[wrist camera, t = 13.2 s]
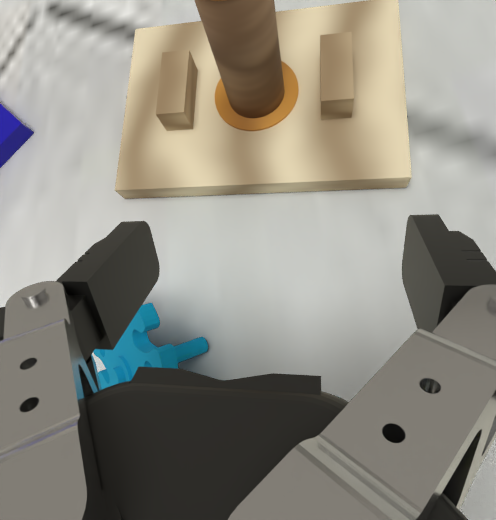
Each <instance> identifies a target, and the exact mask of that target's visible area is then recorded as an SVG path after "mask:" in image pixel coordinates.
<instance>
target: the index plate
mask: <svg viewBox="0 0 496 520" xmlns="http://www.w3.org/2000/svg"><path fill="white" fill-rule="evenodd" d="M275 13H276V21H277V30H278V38H279V47H280V55H281V63H282V72H283V80H284V90H285V92H284V98H283V100H282V102H281V104H280V105H279V107H278V108H277V109H276V110H274V111H273V112H272V113H270V114H268V115H267V116H264V117H260V118H246V117H243V116H241V115H239V114H237V113H236V112H235V111H234V110H233V109H232V107H231V105H230V103H229V100H228V97H227V94H226V91H225V88H224V85H223V82H222V79H221V76H220V73H219V70H218V67H217V65H216V62H215V59H214V56H213V53H212V50H211V47H210V44H209V41H208V38H207V35H206V32H205V29H204V26H203V23H202V21H198V22H190V23H182V24H174V25H166V26H157V27H149V28H141V29H136V31H135V39H134V46H133V54H132V62H131V69H130V77H129V85H128V93H127V100H126V108H125V116H124V124H123V131H122V139H121V147H120V154H119V162H118V170H117V178H116V185H115V191H116V192H117V193H119V194H120V195H121V196H122V197H123V198H125V199H130V198H155V197H180V196H205V195H230V194H255V193H280V192H306V191H331V190H356V189H381V188H406V187H407V185H408V183H409V181H410V179H411V177H412V176H411V163H410V150H409V137H408V124H407V110H406V97H405V84H404V71H403V58H402V45H401V31H400V18H399V5H398V0H369V1H361V2H353V3H344V4H336V5H328V6H320V7H312V8H304V9H296V10H287V11H279V12H275Z"/></svg>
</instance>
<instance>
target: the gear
mask: <svg viewBox="0 0 496 520" xmlns="http://www.w3.org/2000/svg"><path fill="white" fill-rule="evenodd" d="M159 325H160V320H159V317H158V315H157V312H156V310H155V308H154V306H153V304H152V303H148V304H144V305H141V307H140V308H139V310H138V312H137V313H136V315H135V316H134V318H133V319H132V321H131V323H130V324H129V326H128V327H127V329H126V330H125V332H124V333H123V335H122V337H121V338H120V340H119V341H118V343H117V344H116V346H115V348H114V349H113V350H104V349H95V350H94V351H93V352H94V354H95V355H96V356H97V357H99V358H100V359H101V360H102V362H103V364H104V365H105V367H106V369H105V370H102V371H100V372H98V374H99V380H100V384H101V388H102V389H104V388H107V387H109V386H112V385H115V384H119V383H122V382H126V381H131V380H132V378H133V376H134V374H135V373H136V371H137V369H138V367H158V368H177V369H178V363H179V362H182V361H184V360H187V359H189V358H192V357H195V356H197V355H200V354H202V353H205V352H207V350H208V344H207V341H206V340H205V338H203V337H199V338H196V339H193V340H191V341H188V342H185V343H182V344H179V345H177V346H173V345H172V344H167V345H164V346H161V347H156V346H155V345H153V344H152V343H151V342H150V340H149V338H148V335H147V331H149V330H152V329H156V328H158V327H159Z"/></svg>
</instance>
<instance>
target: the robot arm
mask: <svg viewBox="0 0 496 520" xmlns="http://www.w3.org/2000/svg"><path fill="white" fill-rule="evenodd" d="M158 277H159V261H158V257H157V254H156V250H155V246H154V242H153V238H152V234H151V230H150V227H149V225H148V224H147V222H145V221H134V222H121V223H120V224H119V225H118V226H117V227H116V228H115V229H114V230H113V231H112V232H111V233H110V234H109V235H108V236H107V237H106V238H104V239H102V240H101V241H99V242H97V243H95V244H94V245H93V246H92V247H91V248H90V249H89V250H88V251H87V252H85V255H82V256H81V257H80V258H79V259H78V262H75V263H74V264H73V265H72V266H71V267H70V268H69V269H68V270H67V271H66V272H65V273H64V274H63V275H62V276H61V277H60V278H59V279H58V280H57V281H46V282H40V283H36V284H33V285H30V286H28V287H25V288H23V289H21V290H20V291H18V292H16V293H15V294H14V295H12V296H11V297H10V298H9V300H8V301H7V303H6V306H5V307H2V308H0V520H468V519H467V518H466V517H465V516H464V515H463V514H462V513H461V512H460V511H459V510H460V508H461V506H462V504H463V502H464V500H465V498H466V496H467V493H468V491H469V489H470V487H471V484H472V482H473V480H474V478H475V475H476V473H477V471H478V469H479V467H480V465H481V464H482V462H483V460H484V458H485V456H486V454H487V452H488V451H489V449H490V447H491V445H492V443H493V441H494V440H495V438H496V271H495V270H494V269H493V267H492V266H491V264H490V263H489V262H488V261H487V259H486V257H485V256H484V254H483V253H482V252H481V250H480V249H479V247H478V246H477V245H476V243H475V242H474V240H473V239H471V238H469V237H468V236H466V235H464V234H463V233H461V232H459V231H449V230H448V229H447V227H446V226H445V224H444V222H443V221H442V219H441V218H440V216H439V215H410V216H409V218H408V221H407V227H406V236H405V244H404V252H403V260H402V279H403V284H404V287H405V290H406V293H407V297H408V300H409V303H410V306H411V309H412V312H413V316H414V319H415V322H416V325H417V328H418V330H417V331H415V332H414V333H413V334H412V335H411V337H410V338H409V339H408V340H407V341H406V342H405V343H404V344H403V345H402V346H401V347H400V348H399V349H398V351H397V352H396V353H395V354H394V355H393V356H392V357H391V358H390V359H389V360H388V361H387V362H386V363H385V365H384V366H383V367H382V368H381V369H380V370H379V371H378V372H377V373H376V374H375V375H374V376H373V377H372V379H371V380H370V381H369V382H368V383H367V384H366V385H365V386H364V387H363V388H362V389H361V390H360V392H359V393H358V394H357V395H356V396H355V397H354V398H353V399H352V400H351V401H350V402H347V401H345V400H344V399H342V398H339V397H337V396H334V395H332V394H329V393H325V392H322V391H321V376H309V375H290V374H267V375H260V376H253V377H247V378H240V379H233V380H225V381H224V380H217V379H214V378H211V377H207V376H204V375H200V374H197V373H193V372H190V371H187V370H183V369H177V368H158V367H138V369H137V371H136V373H135V374H134V376H133V378H132V380H131V381H126V382H122V383H119V384H115V385H112V386H109V387H107V388H104V389H102V388H101V384H100V380H99V376H98V372H97V368H96V363H95V361H94V358H93V356H92V353H93V351H94V350H95V349H104V350H113V349H114V348H115V346H116V344H117V343H118V341H119V340H120V338H121V337H122V335H123V333H124V332H125V330H126V329H127V327H128V326H129V324H130V323H131V321H132V319H133V318H134V316H135V315H136V313H137V312H138V310H139V308H140V307H141V305H142V304H143V302H144V301H145V299H146V298H147V296H148V294H149V293H150V291H151V290H152V288H153V287H154V285H155V283H156V282H157V280H158Z"/></svg>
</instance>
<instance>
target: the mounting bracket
mask: <svg viewBox="0 0 496 520" xmlns="http://www.w3.org/2000/svg"><path fill="white" fill-rule="evenodd" d="M33 133H34V132H33V131H32V130H31V129H29V128H28V127H27V126H26V125H25V124H24V123H23V122H22V121H21V120H19V119H18V118H17V117H16V116H15V115H14V114H13V113H12V112H11V111H9V110H8V109H7V108H6V107H5V106H4V105H3V104H2V103H1V102H0V168H1V167H2V166H3V165H4V164H5V163H6V162H7V160H8V159H9V158H10V157H11V156H12V155H13V154H14V153H15V152H16V151H17V150H18V149H19V148H20V147H21V146H22V145H23V144H24V143H25V142H26V141H27V140H28V139H29V138H30V137H31V136H32V135H33Z"/></svg>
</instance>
